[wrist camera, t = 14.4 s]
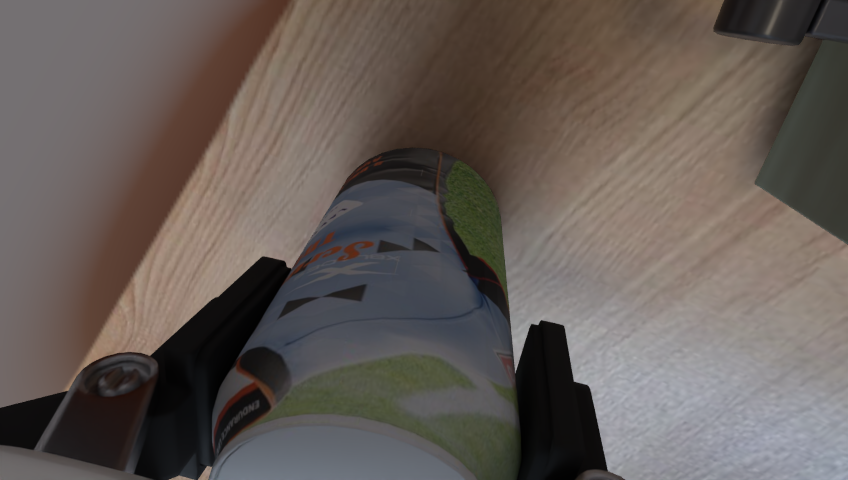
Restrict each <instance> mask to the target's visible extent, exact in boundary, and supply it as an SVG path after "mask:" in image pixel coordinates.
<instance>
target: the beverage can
mask: <svg viewBox="0 0 848 480" xmlns="http://www.w3.org/2000/svg"><path fill="white" fill-rule="evenodd" d="M212 443H213V449H214V455H215V459H216V460H215V462H214V464H213V467H212V470H211V473H210V476H209V479H208V480H517V478H518V473H519V469H520V465H521V460H522V450H521V432H520V421H519V410H518V399H517V388H516V378H515V367H514V356H513V345H512V335H511V324H510V313H509V302H508V291H507V281H506V270H505V259H504V248H503V238H502V227H501V216H500V212H499V208H498V205H497V202H496V200H495V198H494V196H493V193H492V191H491V190H490V188H489V187H488V185H487V184H486V183H485V181H484V180H483V179H482V178H481V177H480V176H479V175H478V174H477V173H476V172H475V171H474V170H473V169H472V168H471V167H469V166H468V165H466V164H465V163H463V162H462V161H460V160H459V159H457V158H454V157H452V156H450V155H448V154H445V153H442V152H438V151H435V150H431V149H423V148H403V149H395V150H392V151H388V152H384V153H381V154H379V155H377V156H375V157H373V158H371V159H369V160H367V161H366V162H365V163H363V164H362V165H360V166H359V167H358V168H357V169H356V170H355V171H354V172H353V173H352V174H351V175H350V176H349V177H348V178H347V180H346V182H345V183H344V185H343V186H342V188H341V190H340V191H339V193H338V195H337V196H336V198H335V199H334V201H333V203H332V204H331V206H330V208H329V209H328V211H327V212H326V214H325V216H324V217H323V219H322V221H321V222H320V224H319V226H318V227H317V229H316V230H315V232H314V234H313V235H312V237H311V239H310V240H309V242H308V243H307V245H306V247H305V248H304V250H303V252H302V253H301V255H300V256H299V258H298V260H297V261H296V263H295V265H294V266H293V268H292V270H291V271H290V273H289V274H288V276H287V278H286V279H285V281H284V283H283V284H282V286H281V287H280V289H279V291H278V292H277V294H276V296H275V297H274V299H273V300H272V302H271V304H270V305H269V307H268V309H267V310H266V312H265V314H264V315H263V317H262V318H261V320H260V322H259V323H258V325H257V327H256V328H255V330H254V331H253V333H252V335H251V336H250V338H249V340H248V341H247V343H246V344H245V346H244V348H243V349H242V351H241V353H240V354H239V356H238V358H237V359H236V361H235V362H234V364H233V366H232V367H231V369H230V371H229V372H228V374H227V375H226V377H225V379H224V380H223V382H222V384H221V386H220V388H219V391H218V394H217V398H216V401H215V405H214V408H213V413H212Z"/></svg>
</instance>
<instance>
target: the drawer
mask: <svg viewBox="0 0 848 480" xmlns="http://www.w3.org/2000/svg"><path fill="white" fill-rule="evenodd" d="M714 32H715V33H717V34H720V35H724V36H729V37H734V38H740V39H745V40H751V41H758V42H764V43H771V44H779V45H788V46H795V45H799V44H800V43H801V42H802V40H803V38H804V36H806V37H812V38H818V39H823V41H822V43H821V45H820V47H819V50H818V52H817V54H816V56H815V58H814V60H813V62H812V64H811V66H810V68H809V70H808V72H807V75H806V77H805V79H804V81H803V83H802V85H801V87H800V89H799V91H798V93H797V95H796V97H795V100H794V102H793V104H792V106H791V108H790V110H789V112H788V114H787V116H786V118H785V120H784V122H783V124H782V127H781V129H780V131H779V133H778V135H777V137H776V139H775V141H774V143H773V145H772V147H771V149H770V152H769V154H768V156H767V158H766V160H765V162H764V164H763V166H762V168H761V170H760V172H759V174H758V176H757V179H756V181H755V184H756V185H757V186H759V187H760V188H762V189H763V190H765V191H767V192H768V193H770V194H771V195H773V196H774V197H776V198H777V199H779V200H780V201H782V202H783V203H785V204H786V205H788V206H789V207H791V208H793V209H794V210H796V211H797V212H799V213H800V214H802V215H803V216H805V217H806V218H808V219H809V220H811V221H812V222H814V223H815V224H817V225H819V226H820V227H822V228H823V229H825V230H826V231H828V232H829V233H831V234H832V235H834V236H835V237H837V238H838V239H840V240H841V241H843V242H845V243H846V244H848V0H724V2H723V4H722V7H721V10H720V12H719V15H718V17H717V20H716V22H715V25H714Z"/></svg>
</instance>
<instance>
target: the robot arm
mask: <svg viewBox="0 0 848 480" xmlns="http://www.w3.org/2000/svg"><path fill="white" fill-rule="evenodd" d="M290 271H291V268H288V267H286V262H285V261H282V260H278V259H273V258H269V257H261V258H260V259H259V260H258V261H257V262H256V263H255V264H254V265H252V266H251V267H250V268H249V269H248V270H247V271H246V272H245V273H244V274H243V275H242V276H241V277H239V278H238V279H237V280H236V281H235V282H234V283H233V284H232V285H231V286H230V287H229V288H227V289H226V290H225V291H224V292H223V293H222V294H221V295H220V296H219V297H216V298H214V299H212V300H211V301H210V302H209V303H208V304H207V305H205V306H204V307H203V308H202V309H201V310H200V311H199V312H198V313H197V314H196V315H194V316H193V317H192V318H191V319H190V320H189V321H188V322H187V323H186V324H185V325H183V326H182V327H181V328H180V329H179V330H178V331H177V332H176V333H175V334H174V335H173V336H171V337H170V338H169V339H168V340H167V341H166V342H165V343H164V344H163V345H162V346H160V347H159V348H158V349H157V350H156V351H155V352H154V353H153V354H152V355H151V356H148V355H145V354H142V353H134V352H126V353H117V354H113V355H109V356H105V357H103V358H101V359H99V360H96V361H94V362H92V363H91V364H89V365H88V366H87V367H85V368H84V369H83V370H82V371H81V372H80V373H79V374H78V376H77V377H76V379H75V380H74V382H73V384H72V385H71V387H70V389H69V391H65V392H61V393H57V394H53V395H50V396H45V397H42V398H38V399H34V400H30V401H26V402H22V403H18V404H14V405H10V406H6V407H2V408H0V480H169V479H171V478H174V477H176V476H178V475H180V476H183V477H187V478H191V479H194V480H198V478H199V477H200V476H201V474H202V473H203V471H204V470H205V468H206V467H207V466H210V467H212V466H213V464H214V462H215V460H216V459H215V455H214V449H213V443H212V413H213V408H214V405H215V401H216V398H217V394H218V391H219V388H220V386H221V384H222V382H223V380H224V379H225V377H226V375H227V374H228V372H229V371H230V369H231V367H232V366H233V364H234V362H235V361H236V359H237V358H238V356H239V354H240V353H241V351H242V349H243V348H244V346H245V344H246V343H247V341H248V340H249V338H250V336H251V335H252V333H253V331H254V330H255V328H256V327H257V325H258V323H259V322H260V320H261V318H262V317H263V315H264V314H265V312H266V310H267V309H268V307H269V305H270V304H271V302H272V300H273V299H274V297H275V296H276V294H277V292H278V291H279V289H280V287H281V286H282V284H283V283H284V281H285V279H286V278H287V276H288V274H289V273H290ZM515 378H516V388H517V399H518V410H519V421H520V432H521V450H522V460H521V465H520V469H519V473H518V478H517V480H625V479H623V478H622V477H620V476H618V475H616V474H613V473H611V472H609V471H608V470H607V465H606V460H605V456H604V451H603V446H602V442H601V437H600V432H599V428H598V423H597V418H596V414H595V409H594V404H593V400H592V395H591V391H590V388H589V386H587V385H585V384H581V383H576V382H574V380H573V374H572V369H571V363H570V357H569V351H568V345H567V339H566V334H565V328H564V326H563V325H560V324H556V323H551V322H547V321H543V320H541V321H540V323H539V325H534V324H531V326H530V328H529V331H528V335H527V338H526V341H525V344H524V347H523V351H522V354H521V357H520V360H519V364H518V367H517V370H516V373H515Z"/></svg>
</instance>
